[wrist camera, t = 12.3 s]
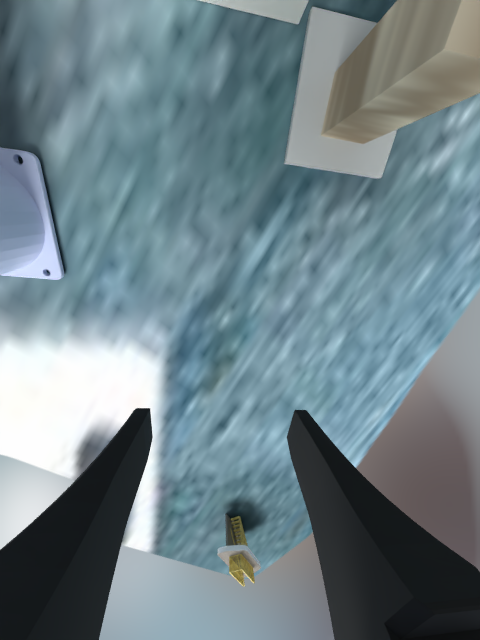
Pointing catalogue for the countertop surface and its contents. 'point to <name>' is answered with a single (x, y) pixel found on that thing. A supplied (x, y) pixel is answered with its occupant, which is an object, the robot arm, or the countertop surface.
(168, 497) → the countertop surface
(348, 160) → the mat
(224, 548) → the gold pronged connector
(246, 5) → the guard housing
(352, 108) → the wooden square post
